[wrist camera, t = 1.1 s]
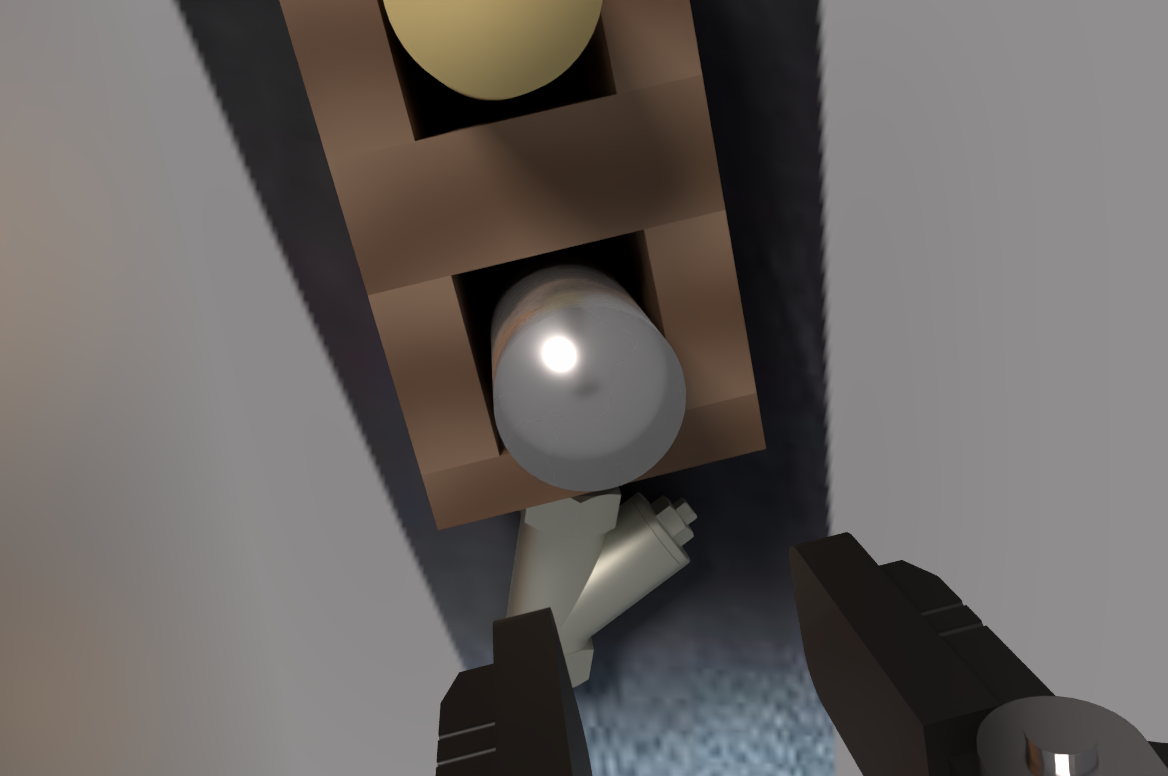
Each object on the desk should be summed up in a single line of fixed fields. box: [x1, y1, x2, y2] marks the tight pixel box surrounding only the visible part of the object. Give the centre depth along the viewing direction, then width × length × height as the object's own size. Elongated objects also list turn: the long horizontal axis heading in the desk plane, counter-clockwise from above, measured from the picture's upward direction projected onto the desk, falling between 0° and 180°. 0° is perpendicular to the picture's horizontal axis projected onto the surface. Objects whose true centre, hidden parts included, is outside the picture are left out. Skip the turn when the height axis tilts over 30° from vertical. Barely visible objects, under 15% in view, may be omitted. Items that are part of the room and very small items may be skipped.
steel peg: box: [490, 255, 686, 492], centre depth 24 cm, size 4×4×8 cm
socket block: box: [279, 0, 766, 530], centre depth 28 cm, size 18×10×8 cm, turn 12°
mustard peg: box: [383, 0, 603, 101], centre depth 22 cm, size 4×4×8 cm
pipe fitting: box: [502, 486, 697, 688], centre depth 35 cm, size 8×4×7 cm
